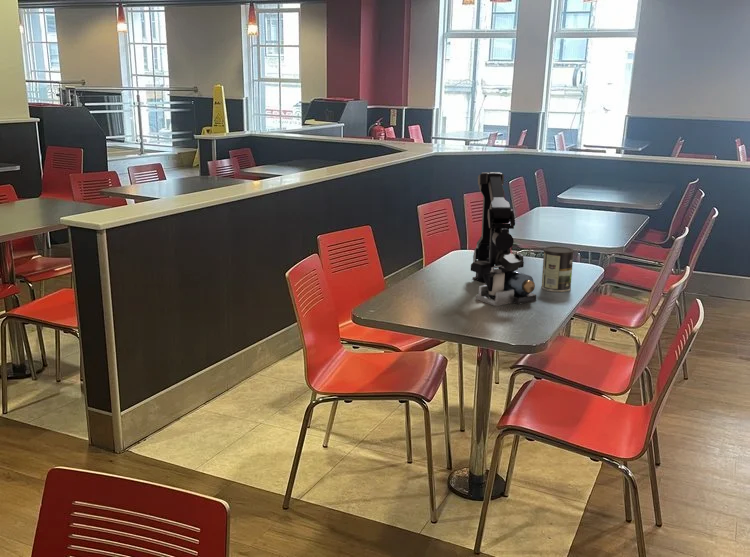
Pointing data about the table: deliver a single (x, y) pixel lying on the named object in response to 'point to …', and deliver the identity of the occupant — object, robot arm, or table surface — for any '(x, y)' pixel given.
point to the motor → (510, 291)
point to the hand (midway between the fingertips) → (496, 290)
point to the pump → (497, 282)
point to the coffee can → (557, 269)
